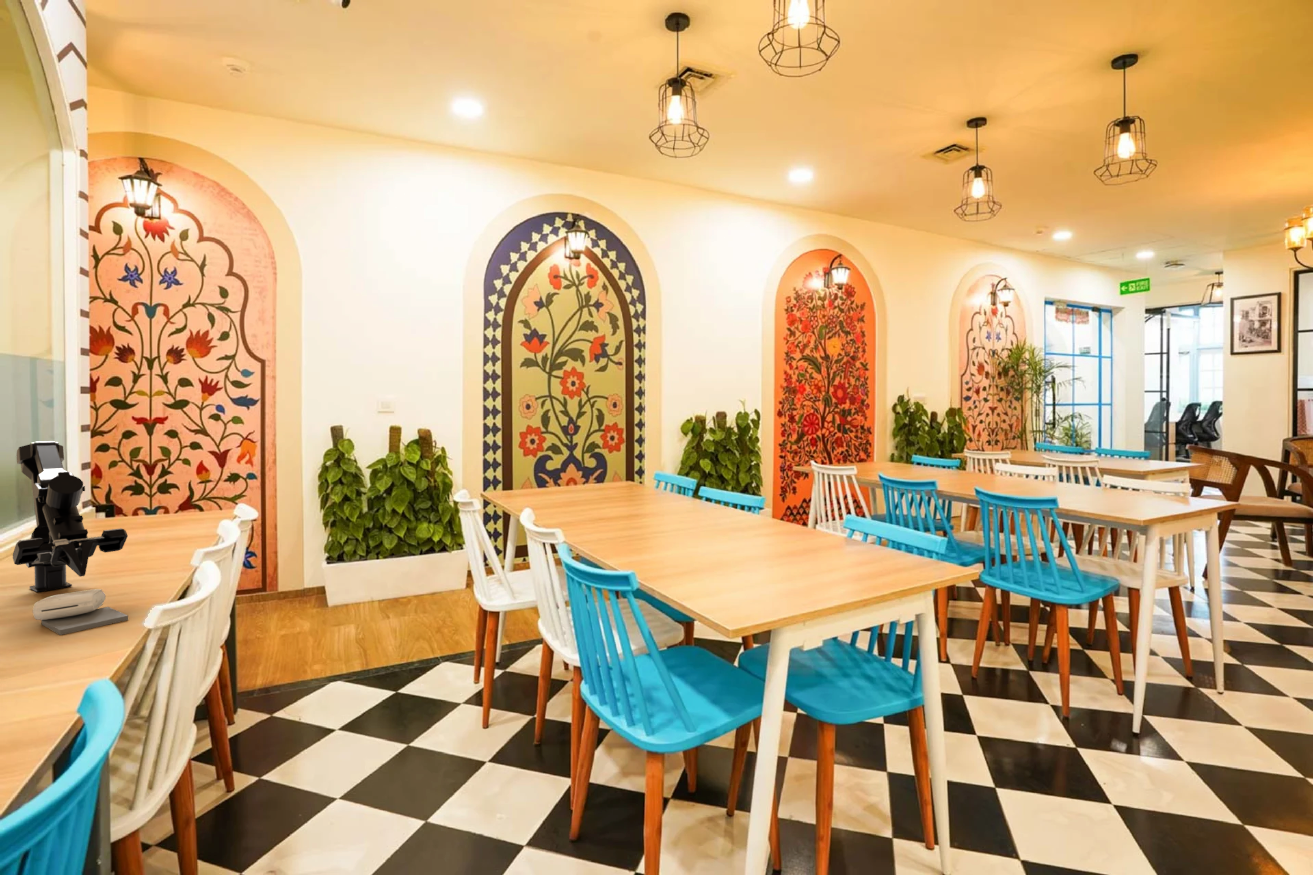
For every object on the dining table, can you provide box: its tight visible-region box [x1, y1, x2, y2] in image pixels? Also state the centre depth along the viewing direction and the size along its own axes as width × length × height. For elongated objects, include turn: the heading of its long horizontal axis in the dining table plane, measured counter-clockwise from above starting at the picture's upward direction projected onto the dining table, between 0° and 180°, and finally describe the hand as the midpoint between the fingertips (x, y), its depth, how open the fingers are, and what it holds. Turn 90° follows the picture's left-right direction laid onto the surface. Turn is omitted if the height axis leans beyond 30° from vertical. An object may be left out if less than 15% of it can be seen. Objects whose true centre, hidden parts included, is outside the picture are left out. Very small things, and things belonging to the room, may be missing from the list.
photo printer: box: [32, 588, 107, 621], centre depth 136 cm, size 10×4×12 cm
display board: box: [41, 606, 129, 636], centre depth 133 cm, size 11×11×1 cm
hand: (82, 575), depth 140 cm, fingers closed
